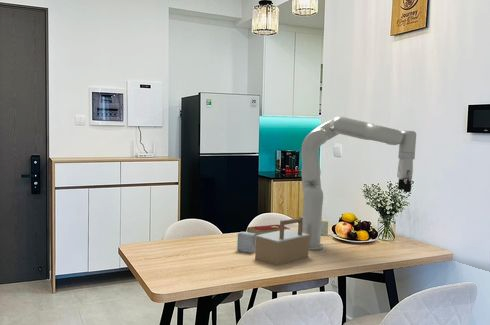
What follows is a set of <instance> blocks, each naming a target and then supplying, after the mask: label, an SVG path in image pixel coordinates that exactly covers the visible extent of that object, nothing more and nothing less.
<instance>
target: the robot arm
mask: <svg viewBox="0 0 490 325" xmlns="http://www.w3.org/2000/svg"><path fill="white" fill-rule="evenodd" d="M339 135H344V136H346V137H347V136H348V137H352V138H356V139H360V140H365V141H374V142H377V143H378V142H379V143H384V144H386V145H390V146H397V145H398V157H397V158H398V165H397V174H396V177H397V178H398V183H397V185H398V186H397V190H402V191H403V192H404V193H411V191H412V190H411V189H412V180H413V172H414V160H415V156H416V147H417V146H416V144H417V141H416V140H417V133H416V131H414V130H399V129H395V128H392V127H388V126H381V125H378V124H373V123H370V122H366V121H361V120H358V119H353V118H349V117H345V116H334V117H333V118H332V119H330V120H328V121H327V122H325V123H323V124H321V125H319V126H317V127H316V128H314V129H312V130H311V132H309V133H308V134H307V135H306V136H305V138H304V140H303V141H302V144H301V164H302V165H301V166H302V167H301V173H300V174H301V182H302V184H301V186H302V194H303V201H302V202H303V204H302V218H303V224H302V233H306V234H309V250H308V251H310V250H311V251H316V250H317V251H318V250H323V249H324V244H322V243H321V236H322V235H321V221H323V220H322V219H323V218H322V215H323V204H324V203H323V201H324V191H323V189H322V183H321V173H322V172H321V171H322V170H321V166H320V153H319V151H320V148H321V146H322V145H324V144H325V143H326V142H327V141H329V140H331V139H333V138H335V137H336V136H339Z"/></svg>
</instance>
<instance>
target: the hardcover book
mask: <svg viewBox="0 0 490 325" xmlns="http://www.w3.org/2000/svg"><path fill="white" fill-rule="evenodd" d="M286 229H289V230H291V228H290V227H287V226H284V230H286ZM276 231H280V223H279V224H269V225H268V224H267V225H257V226H249V227H247V229H246V232H248V233H255V234H256V235H261V234H266V233H271V232H276Z"/></svg>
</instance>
